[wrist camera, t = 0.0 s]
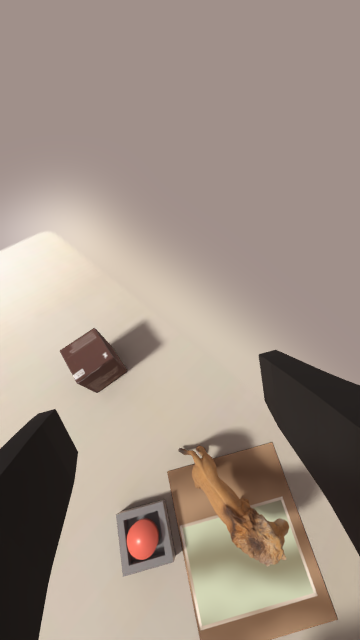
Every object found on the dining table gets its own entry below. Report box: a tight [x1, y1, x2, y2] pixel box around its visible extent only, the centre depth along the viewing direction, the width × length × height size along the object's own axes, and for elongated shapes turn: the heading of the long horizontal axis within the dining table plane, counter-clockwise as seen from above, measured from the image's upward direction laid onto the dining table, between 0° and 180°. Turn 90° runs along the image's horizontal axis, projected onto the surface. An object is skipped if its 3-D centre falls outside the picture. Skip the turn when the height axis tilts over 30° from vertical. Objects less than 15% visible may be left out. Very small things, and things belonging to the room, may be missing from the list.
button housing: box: [116, 499, 175, 577], centre depth 33 cm, size 6×6×2 cm
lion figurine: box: [179, 446, 289, 566], centre depth 31 cm, size 15×5×9 cm, turn 50°
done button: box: [127, 518, 159, 560], centre depth 32 cm, size 4×4×2 cm
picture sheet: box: [167, 442, 338, 640], centre depth 33 cm, size 18×15×1 cm
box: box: [60, 328, 127, 393], centre depth 41 cm, size 6×6×7 cm
